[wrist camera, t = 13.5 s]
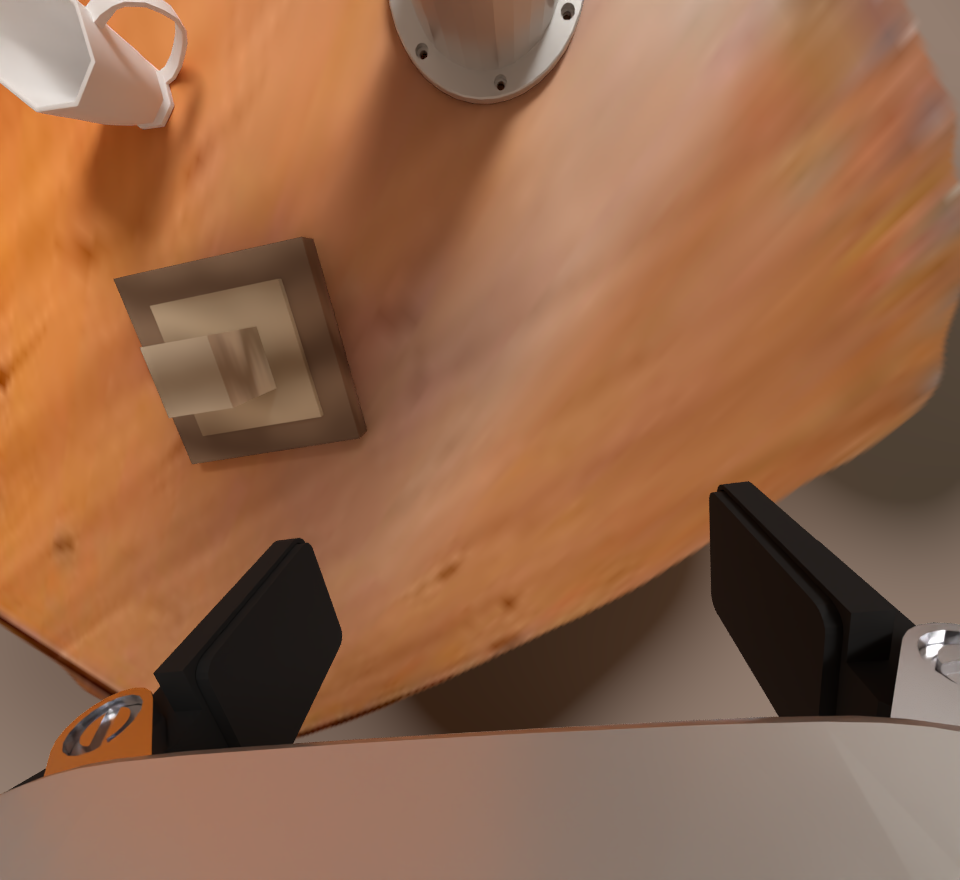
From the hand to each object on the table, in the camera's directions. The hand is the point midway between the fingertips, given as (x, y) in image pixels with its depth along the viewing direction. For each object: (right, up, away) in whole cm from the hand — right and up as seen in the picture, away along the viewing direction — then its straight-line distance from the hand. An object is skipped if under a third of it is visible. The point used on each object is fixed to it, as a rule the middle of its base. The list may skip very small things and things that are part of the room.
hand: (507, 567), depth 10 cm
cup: (-24, +29, +22) cm, 43 cm away
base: (-20, +10, +28) cm, 36 cm away
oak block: (-20, +9, +26) cm, 34 cm away
